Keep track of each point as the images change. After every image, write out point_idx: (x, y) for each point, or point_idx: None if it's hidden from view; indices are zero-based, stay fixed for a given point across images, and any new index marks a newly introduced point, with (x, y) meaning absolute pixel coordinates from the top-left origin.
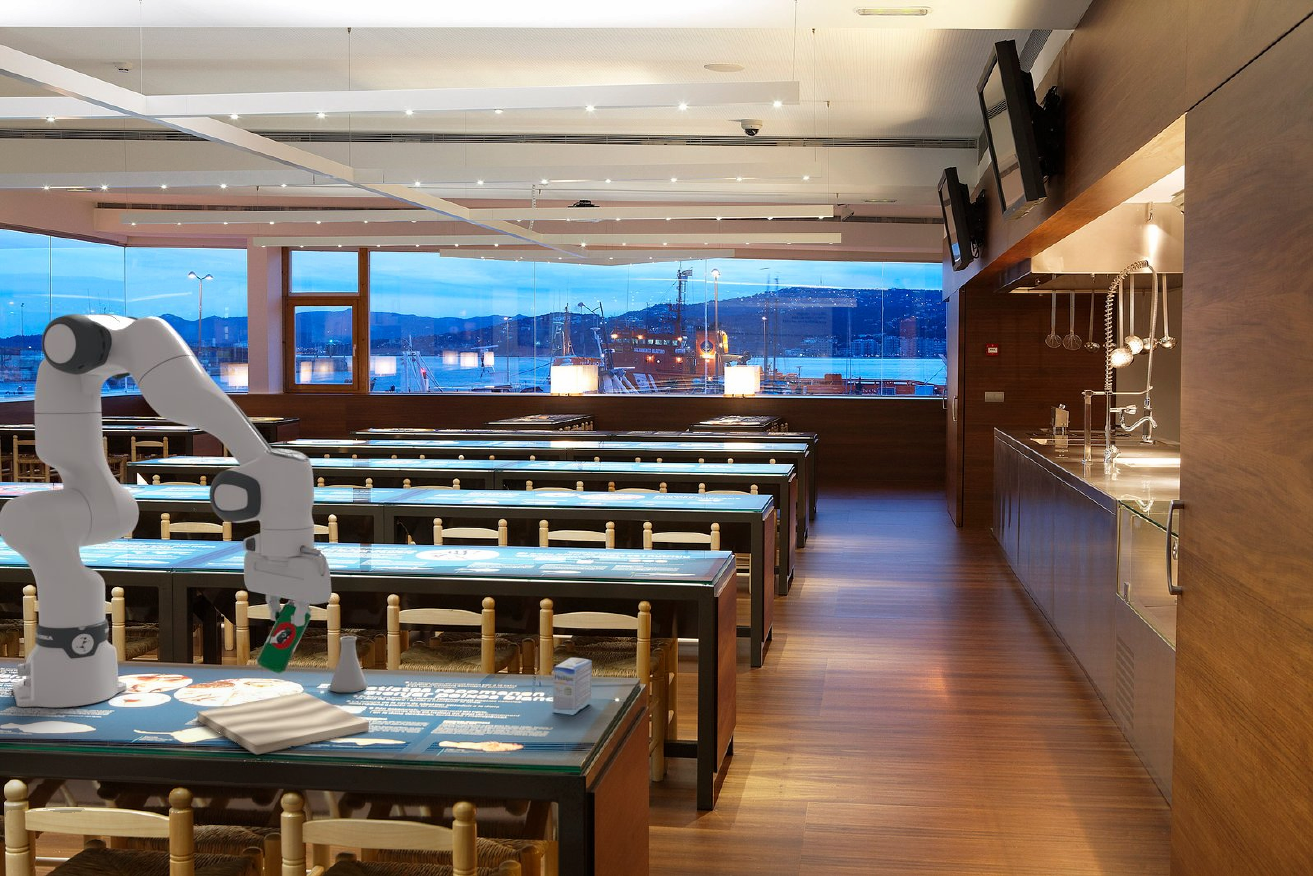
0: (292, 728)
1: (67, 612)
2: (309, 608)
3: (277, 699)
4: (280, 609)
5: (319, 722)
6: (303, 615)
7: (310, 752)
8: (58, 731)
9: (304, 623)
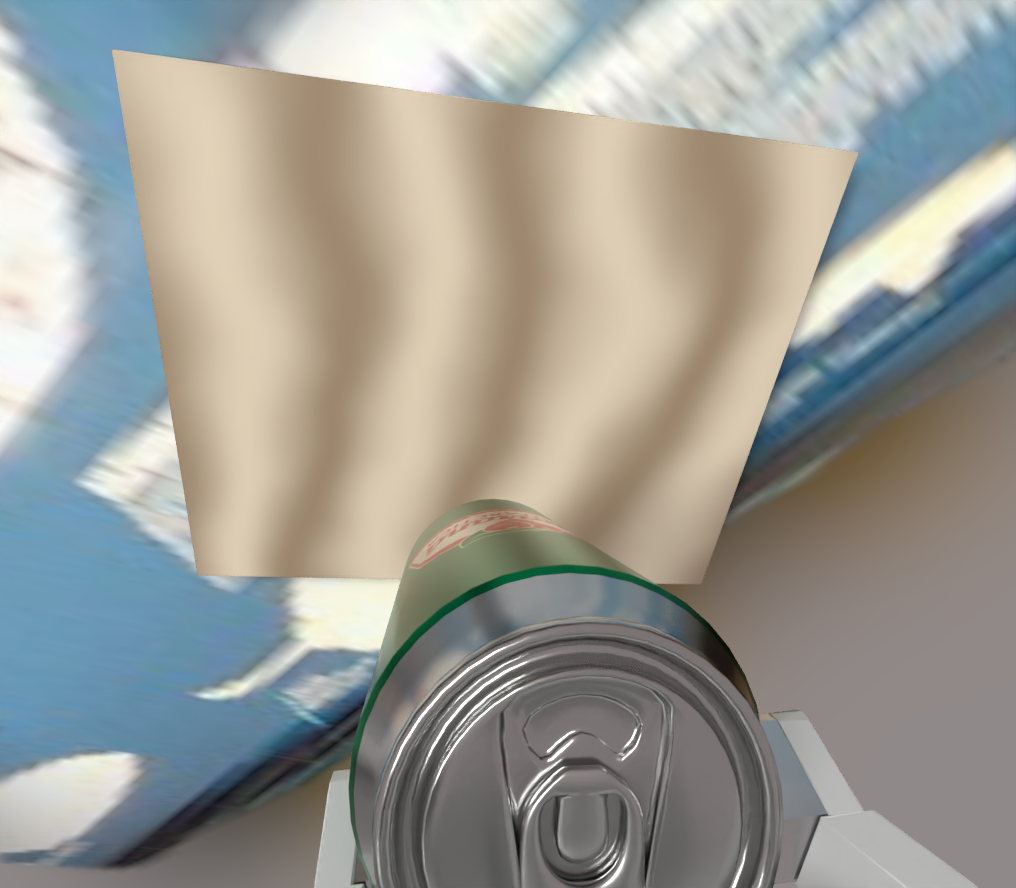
0: (653, 436)
1: None
2: (769, 752)
3: (194, 263)
4: (355, 885)
5: (677, 323)
6: (858, 816)
7: (813, 452)
8: (97, 807)
9: (804, 714)
